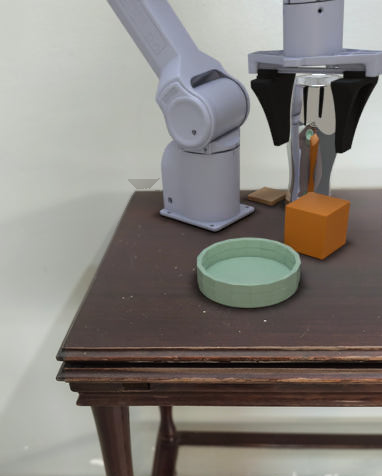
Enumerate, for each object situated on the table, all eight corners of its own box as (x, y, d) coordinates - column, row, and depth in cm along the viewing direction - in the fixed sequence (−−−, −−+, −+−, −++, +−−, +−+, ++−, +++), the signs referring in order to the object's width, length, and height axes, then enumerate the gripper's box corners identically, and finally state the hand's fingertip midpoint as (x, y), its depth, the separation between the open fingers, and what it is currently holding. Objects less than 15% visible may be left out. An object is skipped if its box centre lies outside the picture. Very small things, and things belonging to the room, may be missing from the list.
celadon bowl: (176, 286, 58) (175, 264, 57) (239, 250, 64) (239, 229, 63) (258, 320, 52) (259, 296, 51) (318, 276, 58) (320, 254, 57)
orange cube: (283, 247, 64) (285, 205, 61) (307, 232, 67) (310, 191, 64) (322, 260, 61) (326, 216, 58) (345, 243, 64) (350, 200, 61)
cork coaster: (246, 199, 76) (247, 195, 76) (264, 190, 79) (264, 186, 78) (271, 206, 74) (271, 201, 74) (288, 196, 77) (289, 192, 76)
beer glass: (330, 193, 77) (342, 71, 68) (340, 213, 71) (354, 84, 63) (278, 195, 77) (283, 74, 69) (284, 215, 71) (290, 86, 63)
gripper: (226, 9, 56) (234, 150, 63) (363, 1, 47) (354, 165, 55) (268, 1, 60) (271, 134, 67) (401, -8, 51) (388, 146, 59)
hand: (311, 147), depth 61 cm, fingers open, 7 cm apart
